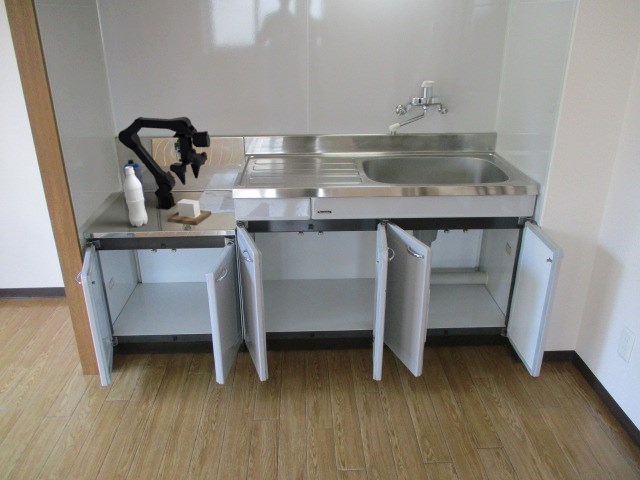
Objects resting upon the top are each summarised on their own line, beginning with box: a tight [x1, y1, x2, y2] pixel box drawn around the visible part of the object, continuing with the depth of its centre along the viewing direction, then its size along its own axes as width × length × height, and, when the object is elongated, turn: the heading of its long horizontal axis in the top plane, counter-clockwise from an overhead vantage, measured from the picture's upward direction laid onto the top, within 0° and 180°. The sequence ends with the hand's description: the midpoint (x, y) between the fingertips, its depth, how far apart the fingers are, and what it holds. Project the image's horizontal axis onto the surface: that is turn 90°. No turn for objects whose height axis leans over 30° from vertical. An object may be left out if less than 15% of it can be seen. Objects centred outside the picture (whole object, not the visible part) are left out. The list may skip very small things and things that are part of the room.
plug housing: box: [176, 198, 201, 217], centre depth 215 cm, size 8×4×6 cm, turn 71°
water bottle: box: [122, 166, 148, 227], centre depth 206 cm, size 7×7×25 cm
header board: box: [167, 209, 212, 226], centre depth 216 cm, size 14×12×5 cm
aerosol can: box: [122, 159, 148, 203], centre depth 232 cm, size 8×8×20 cm
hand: (190, 181), depth 225 cm, fingers open, 9 cm apart
